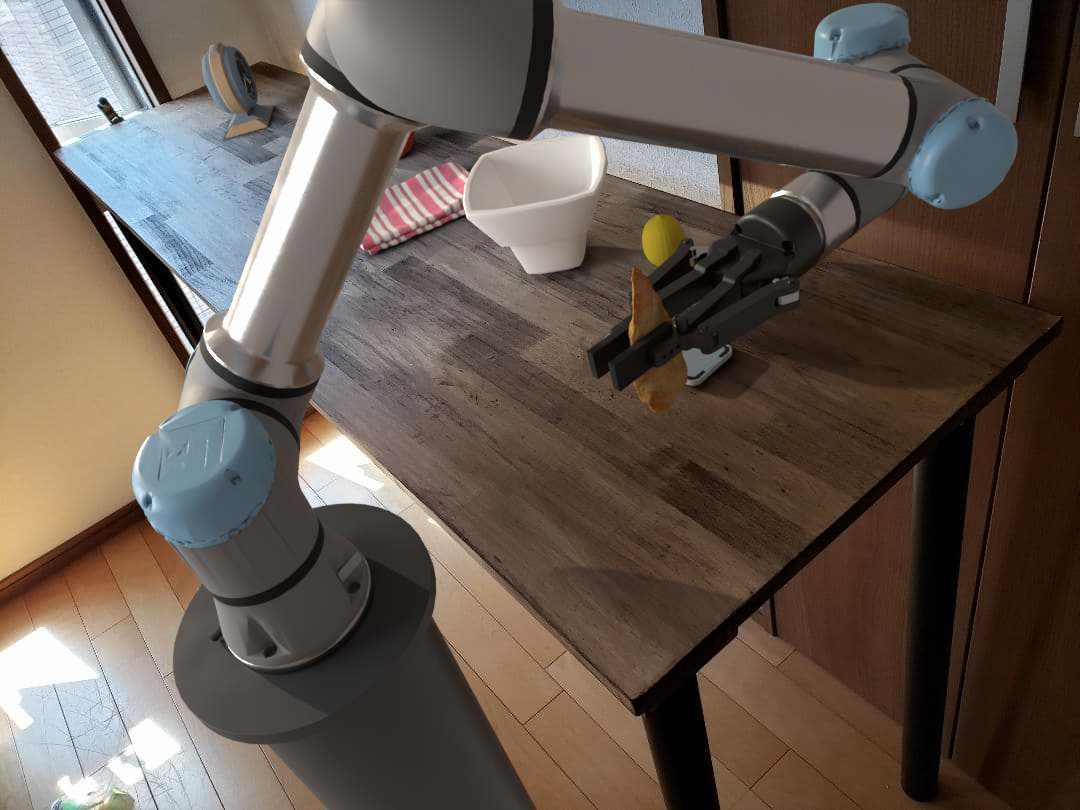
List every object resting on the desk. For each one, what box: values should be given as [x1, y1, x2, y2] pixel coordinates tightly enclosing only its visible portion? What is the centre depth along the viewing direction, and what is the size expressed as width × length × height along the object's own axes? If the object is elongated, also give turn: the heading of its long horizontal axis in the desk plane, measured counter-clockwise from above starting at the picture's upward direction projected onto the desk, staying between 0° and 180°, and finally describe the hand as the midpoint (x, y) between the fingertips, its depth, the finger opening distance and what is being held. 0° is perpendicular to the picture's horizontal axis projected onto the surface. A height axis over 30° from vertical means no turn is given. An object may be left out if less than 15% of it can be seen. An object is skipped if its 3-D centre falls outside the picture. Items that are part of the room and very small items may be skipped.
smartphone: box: [602, 324, 733, 387], centre depth 99 cm, size 7×1×15 cm
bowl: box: [463, 133, 609, 275], centre depth 115 cm, size 19×19×14 cm
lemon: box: [641, 213, 686, 267], centre depth 109 cm, size 6×6×8 cm
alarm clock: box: [201, 42, 274, 140], centre depth 187 cm, size 14×10×18 cm
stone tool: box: [629, 265, 688, 414], centre depth 70 cm, size 5×2×15 cm, turn 132°
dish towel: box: [360, 161, 470, 256], centre depth 139 cm, size 17×23×4 cm
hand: (603, 371), depth 68 cm, fingers closed on stone tool, 2 cm apart
